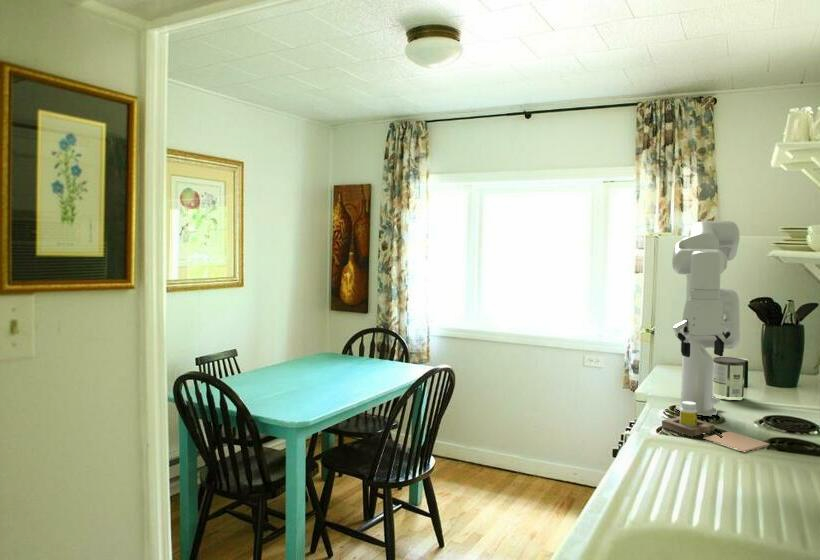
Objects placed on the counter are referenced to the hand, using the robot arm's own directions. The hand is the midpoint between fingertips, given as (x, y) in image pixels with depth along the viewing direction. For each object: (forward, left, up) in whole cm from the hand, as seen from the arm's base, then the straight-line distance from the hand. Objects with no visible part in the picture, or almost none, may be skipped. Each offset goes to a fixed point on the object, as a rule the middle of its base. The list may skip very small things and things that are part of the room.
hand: (702, 355), depth 168 cm
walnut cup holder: (-8, -10, -25) cm, 28 cm away
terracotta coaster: (-10, +4, -25) cm, 28 cm away
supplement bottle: (-8, -10, -26) cm, 29 cm away
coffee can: (-53, -27, -26) cm, 65 cm away
